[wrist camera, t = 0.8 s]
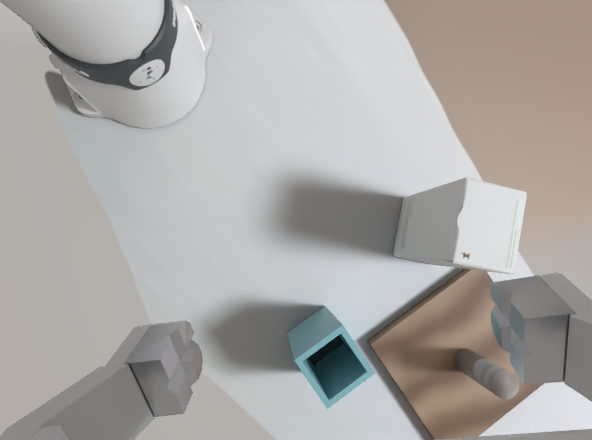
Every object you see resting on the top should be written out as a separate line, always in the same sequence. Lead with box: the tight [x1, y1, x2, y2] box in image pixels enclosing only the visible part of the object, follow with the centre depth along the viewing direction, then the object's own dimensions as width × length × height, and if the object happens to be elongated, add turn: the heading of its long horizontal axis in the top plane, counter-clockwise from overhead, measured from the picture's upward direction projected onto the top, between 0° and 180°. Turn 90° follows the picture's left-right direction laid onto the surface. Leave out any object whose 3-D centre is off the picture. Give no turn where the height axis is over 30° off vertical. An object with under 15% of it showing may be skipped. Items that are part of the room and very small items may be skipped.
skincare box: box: [393, 178, 527, 274], centre depth 42 cm, size 8×7×16 cm
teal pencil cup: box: [286, 306, 375, 409], centre depth 43 cm, size 6×6×10 cm
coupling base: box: [367, 269, 544, 440], centre depth 45 cm, size 18×18×10 cm
